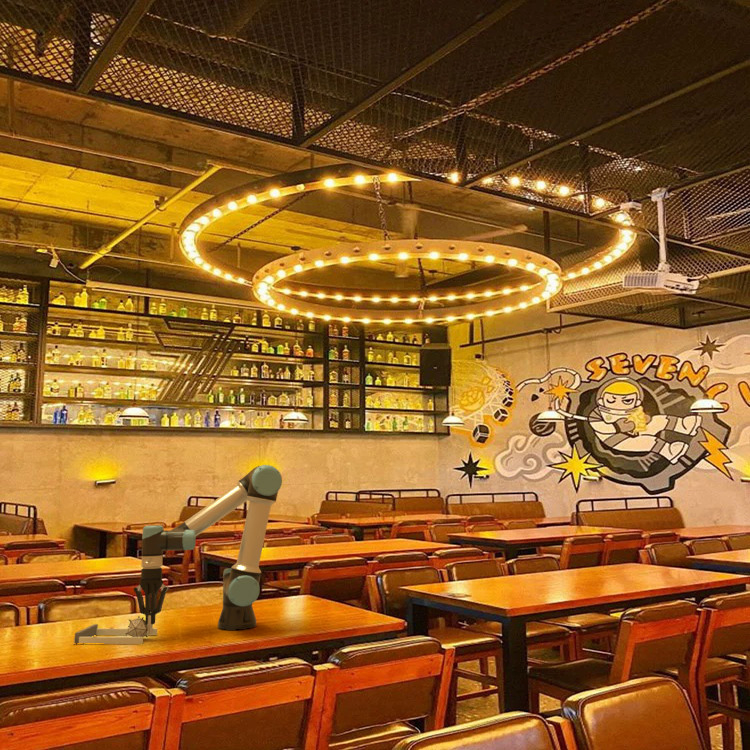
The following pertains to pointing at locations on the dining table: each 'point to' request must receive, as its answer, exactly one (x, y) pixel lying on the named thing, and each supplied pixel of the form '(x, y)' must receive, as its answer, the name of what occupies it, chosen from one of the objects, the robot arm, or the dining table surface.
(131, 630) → the game die
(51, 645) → the dining table surface
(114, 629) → the tan piece
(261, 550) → the robot arm
